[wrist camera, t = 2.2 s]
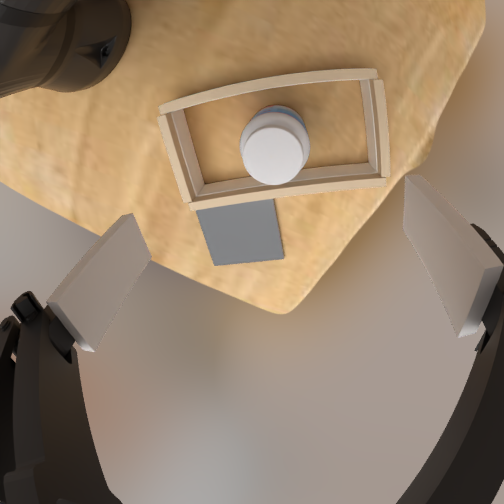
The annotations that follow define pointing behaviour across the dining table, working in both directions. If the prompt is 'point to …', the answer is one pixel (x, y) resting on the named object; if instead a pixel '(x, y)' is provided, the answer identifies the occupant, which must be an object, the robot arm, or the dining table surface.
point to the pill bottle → (275, 145)
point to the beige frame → (306, 179)
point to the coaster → (242, 232)
